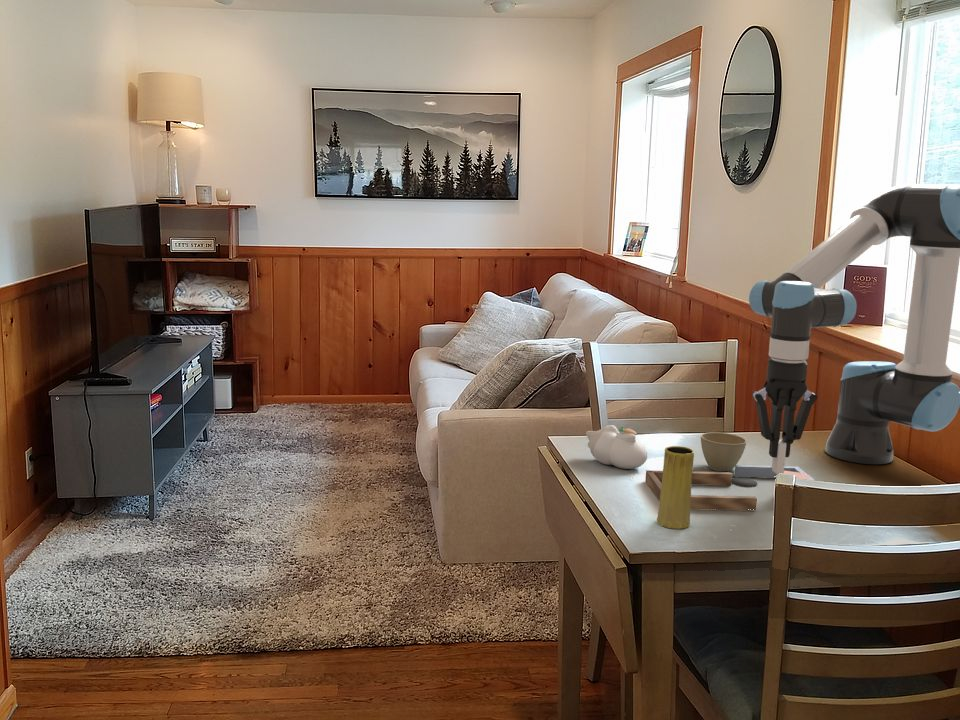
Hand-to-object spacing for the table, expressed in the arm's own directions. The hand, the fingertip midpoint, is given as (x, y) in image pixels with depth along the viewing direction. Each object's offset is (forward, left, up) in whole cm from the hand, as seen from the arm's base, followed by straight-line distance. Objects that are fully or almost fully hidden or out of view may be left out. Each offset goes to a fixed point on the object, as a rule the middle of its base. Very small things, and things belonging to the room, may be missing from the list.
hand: (777, 471), depth 186 cm
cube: (-3, +1, -5) cm, 6 cm away
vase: (+26, +16, -6) cm, 31 cm away
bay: (-3, -9, -5) cm, 11 cm away
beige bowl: (+6, -19, -6) cm, 20 cm away
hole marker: (+4, -9, -5) cm, 11 cm away
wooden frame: (+16, 0, -5) cm, 16 cm away
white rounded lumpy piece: (+30, -20, -6) cm, 36 cm away
